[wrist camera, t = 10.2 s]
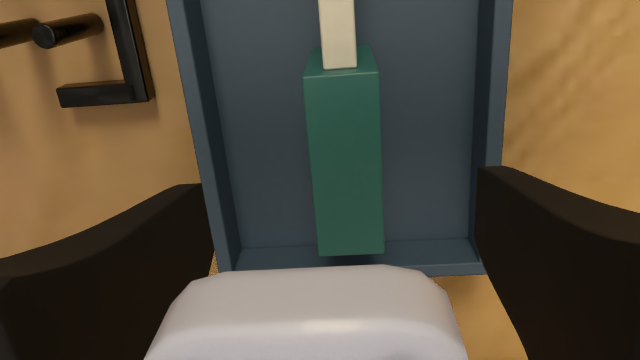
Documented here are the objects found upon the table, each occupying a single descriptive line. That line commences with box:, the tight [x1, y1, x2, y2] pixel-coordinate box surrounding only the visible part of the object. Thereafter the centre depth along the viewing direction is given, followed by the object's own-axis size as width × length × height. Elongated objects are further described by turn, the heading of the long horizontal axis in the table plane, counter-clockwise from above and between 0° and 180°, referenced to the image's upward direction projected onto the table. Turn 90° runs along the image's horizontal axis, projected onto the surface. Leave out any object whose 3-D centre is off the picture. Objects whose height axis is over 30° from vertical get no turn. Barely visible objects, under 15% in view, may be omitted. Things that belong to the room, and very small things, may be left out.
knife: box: [302, 0, 385, 256], centre depth 15 cm, size 15×2×5 cm, turn 5°
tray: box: [166, 0, 513, 277], centre depth 17 cm, size 21×11×2 cm, turn 5°
